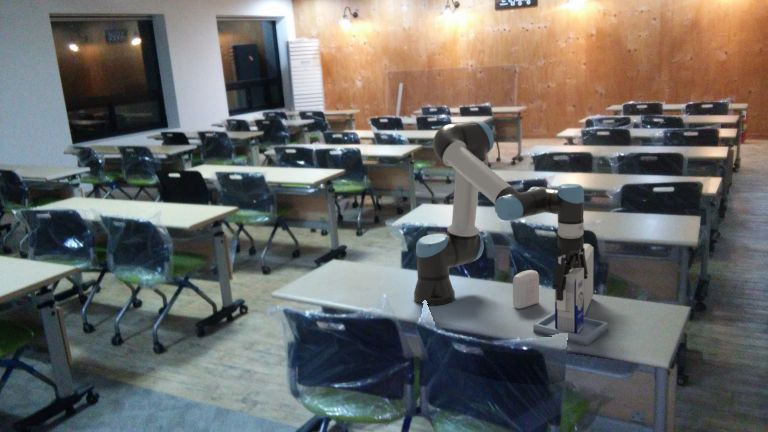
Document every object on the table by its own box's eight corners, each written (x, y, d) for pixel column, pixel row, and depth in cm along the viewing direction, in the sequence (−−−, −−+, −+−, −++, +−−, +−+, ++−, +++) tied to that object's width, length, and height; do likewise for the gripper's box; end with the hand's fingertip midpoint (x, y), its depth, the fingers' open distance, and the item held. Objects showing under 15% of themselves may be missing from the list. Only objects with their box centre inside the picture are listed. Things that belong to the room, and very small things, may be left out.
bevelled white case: (570, 295, 225) (570, 242, 221) (593, 297, 221) (594, 243, 217) (558, 316, 207) (558, 258, 202) (584, 319, 203) (584, 260, 199)
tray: (533, 331, 196) (533, 324, 195) (555, 317, 206) (555, 310, 205) (587, 345, 184) (587, 338, 183) (608, 330, 193) (608, 322, 193)
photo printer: (532, 299, 223) (531, 266, 220) (541, 302, 220) (540, 269, 217) (511, 306, 218) (510, 273, 215) (520, 310, 214) (519, 276, 212)
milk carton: (576, 336, 188) (576, 273, 184) (554, 332, 192) (554, 270, 188) (583, 327, 194) (584, 266, 189) (562, 324, 198) (562, 264, 193)
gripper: (563, 246, 177) (563, 318, 182) (599, 228, 193) (598, 295, 198) (539, 242, 182) (540, 313, 187) (577, 225, 199) (576, 291, 203)
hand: (570, 304), depth 193 cm, fingers open, 11 cm apart
